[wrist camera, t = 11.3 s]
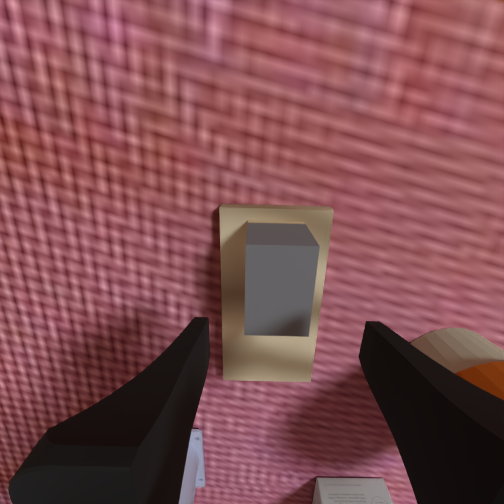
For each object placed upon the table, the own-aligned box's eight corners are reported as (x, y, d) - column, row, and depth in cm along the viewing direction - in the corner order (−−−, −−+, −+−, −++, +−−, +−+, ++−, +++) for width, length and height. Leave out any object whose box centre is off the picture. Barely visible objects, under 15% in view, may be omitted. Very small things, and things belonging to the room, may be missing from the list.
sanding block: (297, 295, 22) (308, 336, 17) (246, 293, 22) (244, 335, 17) (304, 221, 19) (319, 246, 15) (247, 220, 19) (245, 244, 15)
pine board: (308, 371, 26) (310, 382, 25) (224, 369, 26) (223, 380, 25) (329, 206, 20) (333, 210, 19) (221, 203, 20) (219, 207, 19)
